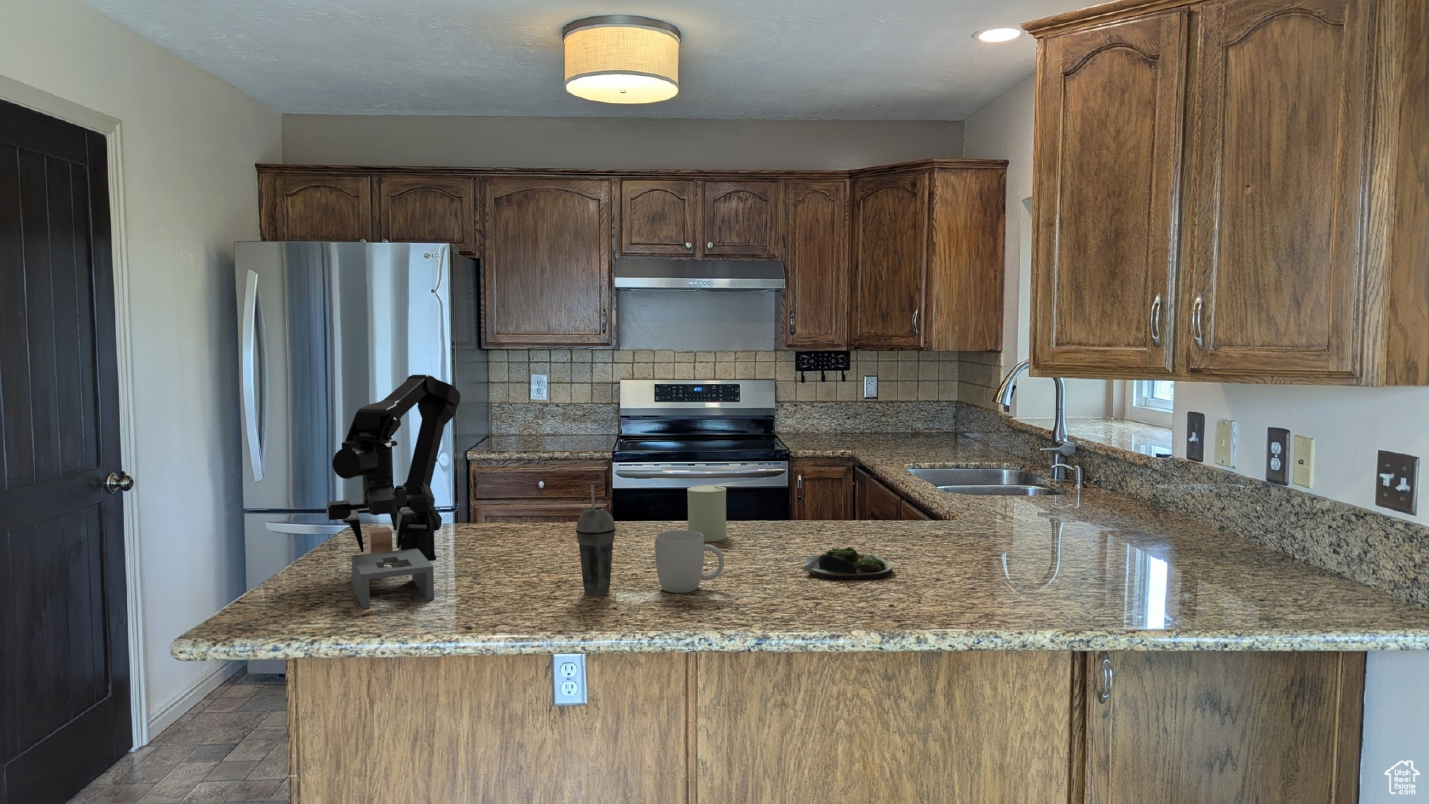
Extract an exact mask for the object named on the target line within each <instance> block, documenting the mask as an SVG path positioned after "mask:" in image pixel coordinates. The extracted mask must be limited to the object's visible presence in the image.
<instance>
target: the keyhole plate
mask: <svg viewBox="0 0 1429 804" xmlns="http://www.w3.org/2000/svg"><path fill="white" fill-rule="evenodd" d="M384 563H396V564H397V565H398V566H399V567H393V568H389V569H380V570H379V568H382V567H384ZM406 565H407V566H406ZM407 575H408V576H410V575H411V580H412V582H413V583H414V584H415V586H416V587H417V589H418V590H419V591H420V592H421V594H422V596H423V597H424V598H425V599H426V601H431V600H435V588H434V587H435V583H434V578H435V577H434V575H435V574H434V565H433V564H432V563H431V562H430V561H429V560H427V559H426V557H425V556H424V555H423V554H422V553H421V552H420V551H419V549H409V550H400V551H399V550H393V551H391V552H381V553H372V554H368V553H363V554H355V555H351V581H352V589H353V592H354V594H355V595H356V597H357V600H358V602H359V604H360V606H361V608H362V610H365V609H370V608H371V602H370V601H371V598H370V595H371V593H370V580H375V579H377V580H378V579H383V578H393V577H399V576H407Z"/></svg>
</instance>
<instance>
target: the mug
mask: <svg viewBox="0 0 1429 804" xmlns="http://www.w3.org/2000/svg"><path fill="white" fill-rule="evenodd" d="M654 539H655V540H654V551H655V552H654V554H655V556H654V557H655V566H656V572H657V577H658V580H659V585H660V586H661V589H662V590H663V591H664V592H668V593H675V594H685V593H691V592H695V591H697V589H698V588H699V585H700V582H701V581H702V580H703V581H710V580H714V579H716V578H717V577H719V576H720V574H721V573H722V572H723V571H724V567H725V557H724V554H723V553H722V551H721V549H719V548H718V547H716V546H715V545H713V544H709V543H708V544H707V543H706V544H705V542H704V536H703V534H702V533H700V532H695V531H688V530H667V531H664V532H663V531H662V532H658V533H657V534H655V538H654ZM705 551H709V552H712V553H714V554H715V555H716V557H717V559H718V565H717V568H716V569H715V570H714V571H711V573H704V574H703V569H704V561H705Z"/></svg>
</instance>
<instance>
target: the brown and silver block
mask: <svg viewBox="0 0 1429 804" xmlns="http://www.w3.org/2000/svg"><path fill="white" fill-rule="evenodd" d="M366 532H367V535H366V536H367V554H372V553H381V552H391V551H394V550H393V531H392V529H391V528H390V526H385V527H384V526H383V527H373V528H367V529H366ZM389 568H394V567H393V562H391V563H384V567H382V568H379V570H380V569H389Z"/></svg>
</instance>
